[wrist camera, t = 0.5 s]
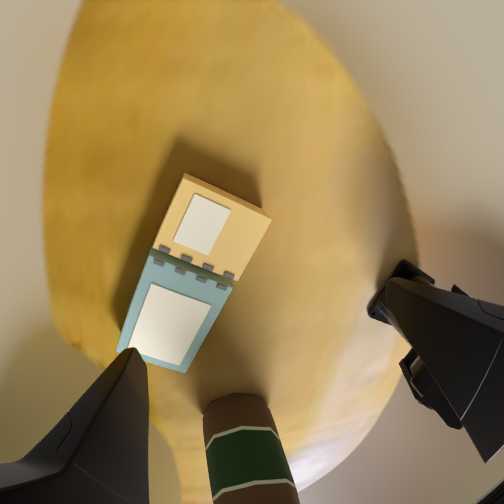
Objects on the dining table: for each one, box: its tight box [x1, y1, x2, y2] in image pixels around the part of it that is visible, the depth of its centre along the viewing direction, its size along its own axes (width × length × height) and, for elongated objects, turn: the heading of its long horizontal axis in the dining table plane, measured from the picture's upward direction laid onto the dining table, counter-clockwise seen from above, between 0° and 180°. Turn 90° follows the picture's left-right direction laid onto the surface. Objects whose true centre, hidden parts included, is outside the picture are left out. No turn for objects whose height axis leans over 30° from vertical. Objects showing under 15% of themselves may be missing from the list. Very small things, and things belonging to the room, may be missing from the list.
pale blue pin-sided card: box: [116, 242, 233, 373], centre depth 21 cm, size 6×9×2 cm, turn 151°
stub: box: [153, 173, 272, 281], centre depth 19 cm, size 6×5×2 cm
